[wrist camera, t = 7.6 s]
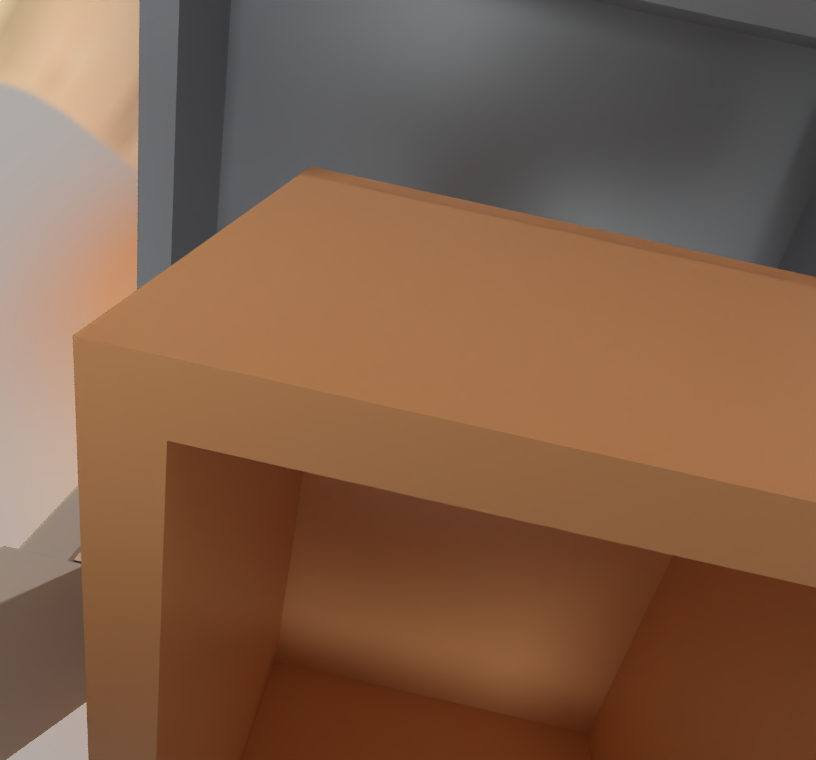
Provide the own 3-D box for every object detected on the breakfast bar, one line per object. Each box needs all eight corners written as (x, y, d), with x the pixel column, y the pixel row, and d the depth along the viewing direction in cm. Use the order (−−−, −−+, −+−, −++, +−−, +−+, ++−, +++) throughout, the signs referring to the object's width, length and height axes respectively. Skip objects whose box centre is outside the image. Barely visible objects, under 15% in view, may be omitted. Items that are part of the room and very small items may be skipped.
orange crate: (828, 279, 8) (1266, 603, 3) (604, 732, 11) (671, 1175, 7) (310, 166, 8) (71, 335, 3) (252, 651, 12) (99, 1034, 7)
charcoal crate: (911, 28, 19) (1020, 26, 15) (695, 487, 27) (730, 567, 23) (213, -120, 20) (141, -160, 16) (189, 374, 27) (135, 433, 23)
